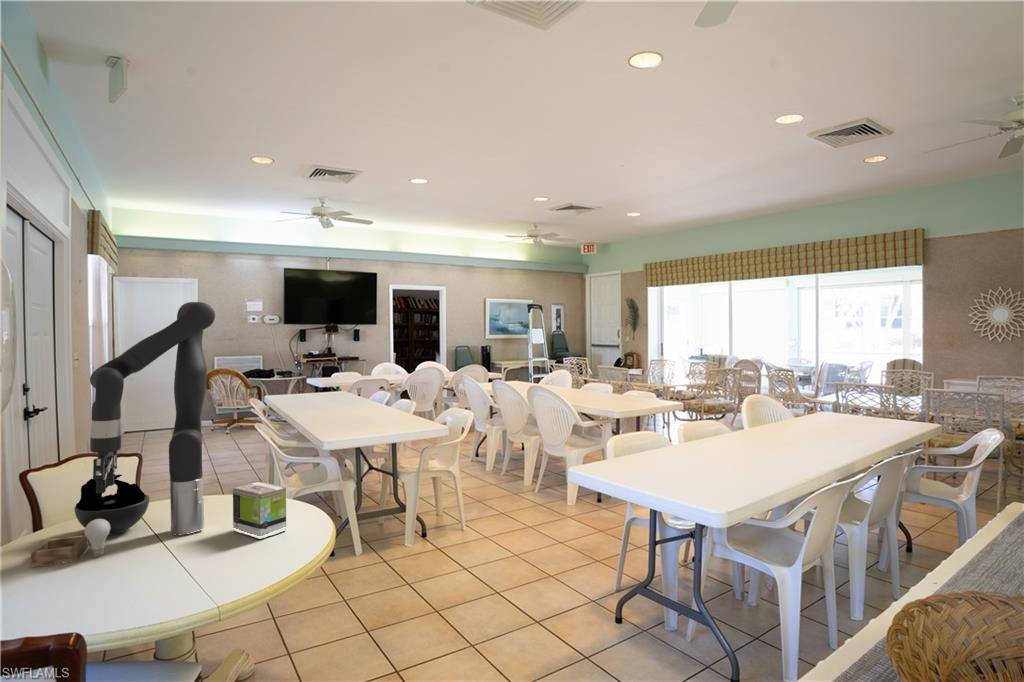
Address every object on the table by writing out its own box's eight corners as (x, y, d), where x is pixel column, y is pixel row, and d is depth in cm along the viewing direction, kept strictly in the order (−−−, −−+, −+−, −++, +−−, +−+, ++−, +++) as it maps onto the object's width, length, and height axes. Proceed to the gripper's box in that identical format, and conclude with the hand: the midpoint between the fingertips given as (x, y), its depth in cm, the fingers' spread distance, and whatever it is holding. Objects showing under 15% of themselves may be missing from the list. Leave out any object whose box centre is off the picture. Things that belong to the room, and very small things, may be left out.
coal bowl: (89, 525, 192) (88, 470, 191) (157, 519, 198) (156, 465, 198) (63, 547, 173) (62, 485, 172) (139, 539, 179) (138, 480, 178)
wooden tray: (89, 547, 172) (88, 534, 172) (77, 561, 162) (77, 547, 162) (44, 553, 168) (44, 539, 168) (29, 567, 158) (29, 553, 158)
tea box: (287, 531, 186) (287, 486, 186) (259, 541, 177) (259, 494, 177) (259, 523, 194) (259, 480, 194) (231, 532, 186) (231, 487, 185)
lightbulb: (116, 554, 167) (115, 517, 167) (94, 562, 162) (94, 523, 161) (101, 551, 169) (100, 514, 169) (79, 559, 164) (79, 521, 163)
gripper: (114, 438, 163) (113, 494, 164) (127, 430, 177) (126, 482, 177) (82, 439, 161) (81, 496, 161) (98, 431, 174) (97, 484, 174)
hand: (105, 489), depth 169 cm, fingers open, 8 cm apart
